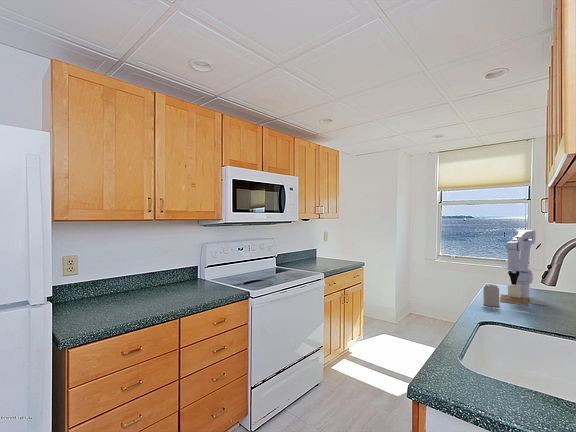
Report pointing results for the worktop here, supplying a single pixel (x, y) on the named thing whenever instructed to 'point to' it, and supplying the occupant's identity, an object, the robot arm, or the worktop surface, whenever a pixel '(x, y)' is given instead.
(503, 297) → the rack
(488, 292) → the can
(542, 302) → the stand
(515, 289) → the beige rectangular block
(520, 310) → the worktop surface
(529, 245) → the robot arm
